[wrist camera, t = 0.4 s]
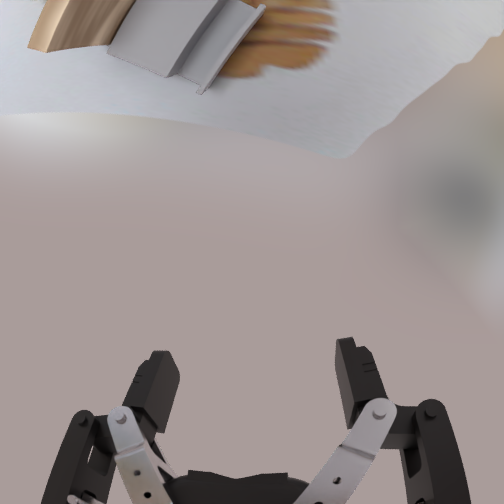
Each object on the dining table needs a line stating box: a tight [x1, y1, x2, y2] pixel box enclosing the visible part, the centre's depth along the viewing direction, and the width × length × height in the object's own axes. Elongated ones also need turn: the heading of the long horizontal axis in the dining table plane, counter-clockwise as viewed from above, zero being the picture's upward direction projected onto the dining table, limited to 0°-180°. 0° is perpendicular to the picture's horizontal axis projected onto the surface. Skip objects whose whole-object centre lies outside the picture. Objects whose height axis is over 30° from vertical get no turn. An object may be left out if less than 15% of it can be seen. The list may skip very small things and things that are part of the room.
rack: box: [106, 0, 266, 95], centre depth 19 cm, size 24×12×6 cm, turn 56°
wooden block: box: [27, 0, 136, 53], centre depth 14 cm, size 2×10×16 cm, turn 146°
